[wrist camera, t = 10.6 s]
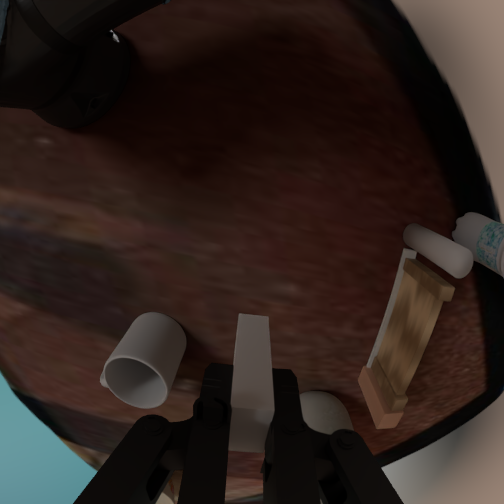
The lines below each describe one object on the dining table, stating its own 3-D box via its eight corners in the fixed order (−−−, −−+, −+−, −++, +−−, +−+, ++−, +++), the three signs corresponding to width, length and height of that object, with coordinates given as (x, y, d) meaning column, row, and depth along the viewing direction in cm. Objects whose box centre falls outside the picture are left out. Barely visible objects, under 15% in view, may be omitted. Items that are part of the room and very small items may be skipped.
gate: (405, 257, 38) (443, 286, 28) (416, 259, 38) (455, 287, 28) (370, 367, 43) (391, 411, 33) (380, 367, 43) (402, 410, 33)
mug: (167, 302, 41) (141, 346, 31) (197, 350, 43) (182, 401, 33) (105, 329, 43) (72, 370, 32) (135, 371, 45) (111, 417, 35)
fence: (405, 221, 37) (455, 246, 26) (425, 225, 37) (476, 250, 26) (357, 380, 45) (377, 434, 33) (374, 380, 45) (398, 432, 33)
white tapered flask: (353, 390, 45) (401, 539, 18) (316, 427, 48) (338, 567, 21) (305, 369, 44) (334, 542, 17) (268, 410, 47) (271, 566, 20)
